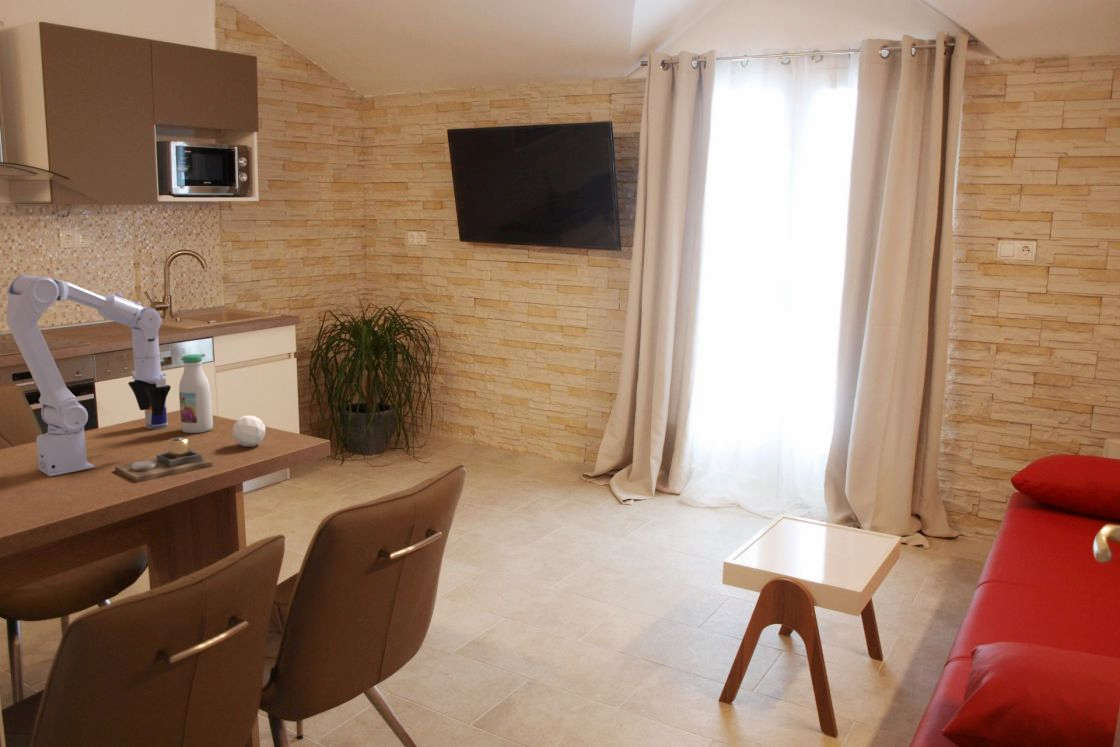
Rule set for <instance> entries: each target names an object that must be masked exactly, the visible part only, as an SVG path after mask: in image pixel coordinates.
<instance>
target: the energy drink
mask: <svg viewBox="0 0 1120 747" xmlns="http://www.w3.org/2000/svg"><path fill="white" fill-rule="evenodd" d="M167 410H168V409H167V400H166V401H165V406H164V412H163V414H161V415H153V413H152V409H151V404H150V409H147V410H144V417H145V418H144V419H145V420H144V421H145V427H146V428H147V429H148V430H161V429H164V428H167V427H168V425H169V424H168V411H167ZM166 426H167V427H166Z"/></svg>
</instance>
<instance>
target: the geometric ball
mask: <svg viewBox="0 0 1120 747" xmlns="http://www.w3.org/2000/svg"><path fill="white" fill-rule="evenodd" d="M231 432H232V437H233V439H234V440H235V442H236V444H239V445H240V446H243V447H255V446H257V445H259V444H260V443H261V442H262V441H263V439H264V438H265V436H266V425H265V424H264V422H263V421H262V419H260V418H259V417H257V416H255V415H243V416H241V417H240V418H238V419H237V420H236V421H235V423H234V424H233V425H232V431H231Z"/></svg>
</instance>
